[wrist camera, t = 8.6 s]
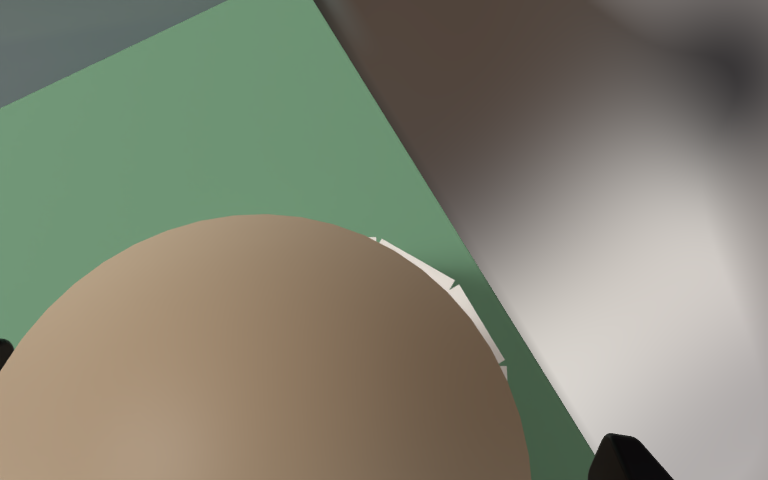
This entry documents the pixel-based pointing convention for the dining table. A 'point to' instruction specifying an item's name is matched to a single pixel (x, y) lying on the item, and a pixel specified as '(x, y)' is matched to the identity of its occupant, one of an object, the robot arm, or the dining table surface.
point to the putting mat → (233, 174)
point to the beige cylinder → (257, 366)
